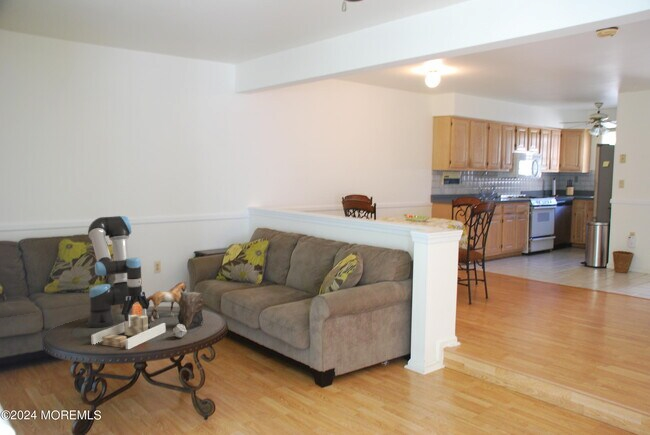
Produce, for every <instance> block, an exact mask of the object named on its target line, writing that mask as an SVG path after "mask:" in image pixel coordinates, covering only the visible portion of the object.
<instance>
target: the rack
mask: <svg viewBox="0 0 650 435" xmlns="http://www.w3.org/2000/svg"><path fill="white" fill-rule="evenodd" d="M166 329H167V328H166V323H165V322H162V323H160V324H158V325H155V326H153V327H151V328H148V330H146V331H144V332H142V333H140V334H137V335H135V336H130V337H128V338H126V346H125V350H130V349H132V348H134V347H136V346H139V345H140V344H143V343H145V342H148V341H149V340H152V339H154V338H156V337H158V336H160V335H162V334H164V333H166ZM123 333H125V329H124V321H123V322H121V323H119V324H116V325H112V326H111V327H108V328H105V329H103V330H101V331H98V332H96V333H92V334H90V335H91V336H90V338H91V345H93V344H94V345H96V343H97V344H98V342H99V343H102V342H103V339H102V337H104V336H106V335H109V334H112V335H120V334H123Z"/></svg>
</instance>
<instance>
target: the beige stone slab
mask: <svg viewBox="0 0 650 435" xmlns="http://www.w3.org/2000/svg"><path fill="white" fill-rule="evenodd" d="M129 315H130V327H125V318H124V317H123V322H124V329H125V332H124V336H130V337H133V336H135V335H137V334H140V333H142V332H144V331H146V330H149V315H146V316H143V315H142V314H131V313H129Z"/></svg>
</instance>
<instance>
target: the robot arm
mask: <svg viewBox="0 0 650 435" xmlns="http://www.w3.org/2000/svg"><path fill="white" fill-rule="evenodd" d="M87 230H88V231H87V235H88V238H89V239H90V241H91V243H92V246H93V250H94V254H95V259H96V262H95V263H94V273H95V275H96V276H99V277H100V276H110V275H111V276H113V275H114V276H115V280H114V282H113V283H112V285H111V284H109V283H104V284H103V283H102V284H98V285H95V286H92V287H91V288H90V289H89V293H88V294H89V296H88V297H89V311H90V313H89V315H88V320H87V326H88V327H89V328H104V327H105V328H106V327H110V326H114V324H115V323H116V319H115V317H114V314H113V311H112V306H119V305H120V306H121V305H122V309H121V313H120V315H121V316H123V319H124V318H125V327H130V315H129V314H131V310H132V308H133V306H134V305H135V304H136V303H138V304H139V305H140V306H141V308H140V309H141V310H140V311H142V313H141V315H143V316H147V313H148V312H147V310H148V309H149V307H150V304H149V303H150V302H149V303H148V301H147V297H146V292H145V291H143V286H142V262H141V258H140V257H129V250H128V248H129V247H128V239H129V238H130V235H131V234H132V224H131V222H130V219H129V218H128V217H127V216H125V215H124V216H123V215H122V216H121V215H116V216H101V217H97V218H96V219H94V220H93V221H92V222H91V223H90V225H89V226H88V229H87ZM106 237H108V240H110V241H111V243H112V244H111V245H112V256H113V260H112V257H111V254H110V250H109V246H108V243H107V240H106Z"/></svg>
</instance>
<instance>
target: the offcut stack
mask: <svg viewBox="0 0 650 435" xmlns="http://www.w3.org/2000/svg"><path fill="white" fill-rule="evenodd" d="M102 339H103V341H101V345H103V346H109V347H116V348H123V347H126V339H127V335H120V334H118V335H112V334H109V335H106V336H104V337H102Z"/></svg>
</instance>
